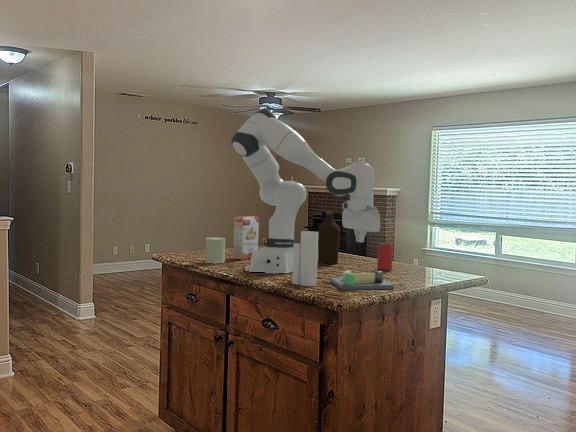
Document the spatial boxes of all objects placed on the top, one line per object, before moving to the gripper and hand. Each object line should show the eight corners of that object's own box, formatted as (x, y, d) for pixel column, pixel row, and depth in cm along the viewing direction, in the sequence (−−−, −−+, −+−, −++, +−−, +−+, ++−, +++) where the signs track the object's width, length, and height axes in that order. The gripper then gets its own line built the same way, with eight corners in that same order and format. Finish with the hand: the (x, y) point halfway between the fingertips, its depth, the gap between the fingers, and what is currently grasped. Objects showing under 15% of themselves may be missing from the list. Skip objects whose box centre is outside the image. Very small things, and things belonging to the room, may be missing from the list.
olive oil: (334, 265, 253) (335, 212, 252) (313, 263, 258) (315, 211, 257) (342, 262, 263) (343, 211, 261) (322, 260, 268) (323, 210, 266)
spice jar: (379, 280, 208) (380, 270, 207) (384, 282, 204) (385, 272, 204) (350, 281, 203) (350, 271, 203) (354, 283, 200) (354, 273, 200)
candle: (320, 284, 205) (321, 232, 204) (308, 287, 200) (310, 233, 198) (297, 280, 212) (298, 229, 211) (285, 282, 207) (286, 230, 206)
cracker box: (242, 260, 261) (243, 217, 260) (232, 259, 264) (233, 216, 263) (258, 257, 273) (259, 216, 272) (248, 256, 276) (249, 215, 275)
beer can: (391, 271, 241) (392, 244, 240) (376, 270, 242) (377, 243, 242) (392, 269, 248) (393, 243, 247) (377, 268, 249) (378, 242, 248)
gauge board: (342, 289, 197) (342, 274, 196) (330, 281, 212) (330, 267, 212) (393, 289, 200) (394, 274, 200) (378, 281, 216) (379, 267, 216)
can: (201, 262, 252) (201, 237, 251) (215, 260, 259) (216, 235, 258) (214, 265, 246) (214, 238, 245) (229, 263, 253) (229, 237, 252)
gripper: (385, 206, 195) (383, 245, 196) (353, 204, 213) (352, 238, 214) (370, 206, 192) (369, 245, 193) (339, 203, 210) (338, 239, 211)
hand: (360, 242), depth 204 cm, fingers closed
